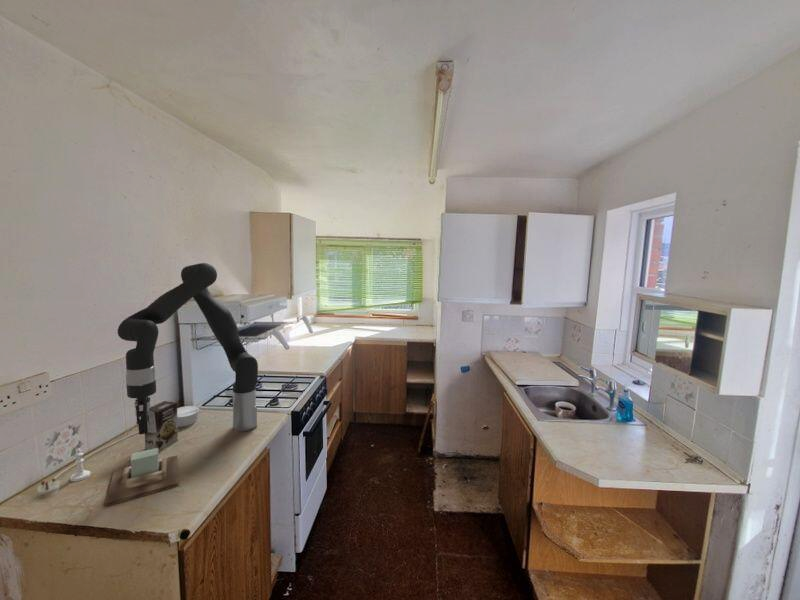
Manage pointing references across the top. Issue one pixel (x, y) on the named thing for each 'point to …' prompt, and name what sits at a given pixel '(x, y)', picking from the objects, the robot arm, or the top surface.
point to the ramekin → (187, 415)
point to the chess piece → (79, 468)
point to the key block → (144, 462)
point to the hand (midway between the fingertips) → (144, 427)
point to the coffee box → (162, 426)
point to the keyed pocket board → (142, 481)
